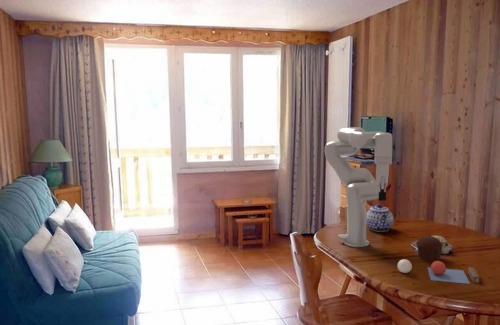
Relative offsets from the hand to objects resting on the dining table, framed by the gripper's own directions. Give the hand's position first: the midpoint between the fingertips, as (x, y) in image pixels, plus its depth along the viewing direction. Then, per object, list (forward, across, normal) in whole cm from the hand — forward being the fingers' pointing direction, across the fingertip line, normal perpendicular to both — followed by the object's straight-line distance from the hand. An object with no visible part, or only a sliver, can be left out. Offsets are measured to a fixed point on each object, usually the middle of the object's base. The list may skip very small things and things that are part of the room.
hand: (382, 200), depth 189 cm
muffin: (+27, -5, +21) cm, 35 cm away
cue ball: (+24, +16, +9) cm, 31 cm away
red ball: (+24, +15, +22) cm, 36 cm away
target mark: (+27, +15, +26) cm, 40 cm away
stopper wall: (+27, +15, +36) cm, 47 cm away
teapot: (+27, -48, -1) cm, 55 cm away
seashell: (+27, -17, +25) cm, 41 cm away
